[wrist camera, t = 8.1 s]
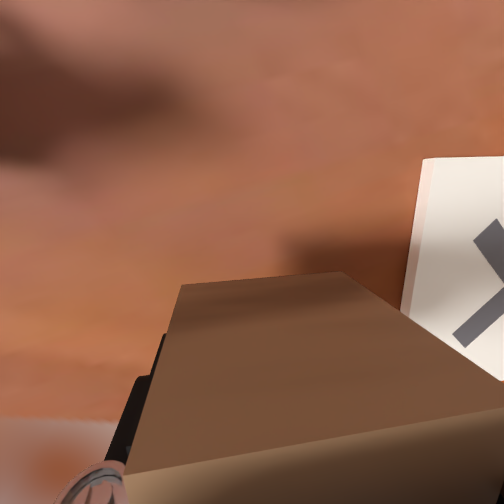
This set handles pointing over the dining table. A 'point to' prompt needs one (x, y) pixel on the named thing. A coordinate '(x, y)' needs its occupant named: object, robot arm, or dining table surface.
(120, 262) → the dining table surface
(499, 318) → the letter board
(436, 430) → the walnut block
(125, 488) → the robot arm
